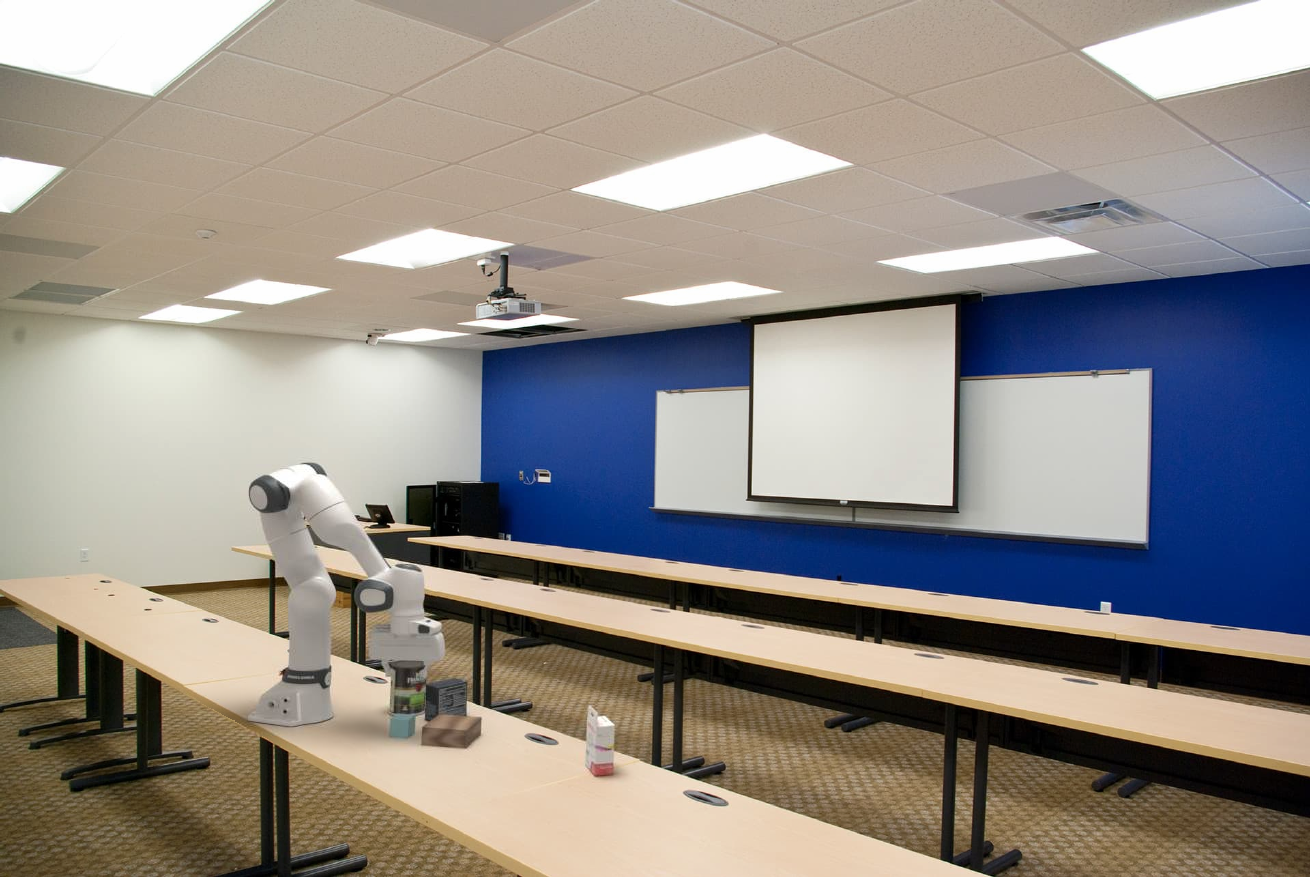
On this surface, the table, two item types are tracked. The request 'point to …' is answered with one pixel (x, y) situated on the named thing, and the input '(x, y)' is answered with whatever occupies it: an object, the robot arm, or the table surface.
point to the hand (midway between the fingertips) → (406, 676)
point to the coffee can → (407, 688)
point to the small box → (446, 698)
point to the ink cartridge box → (599, 744)
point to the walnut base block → (451, 731)
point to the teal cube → (402, 726)
